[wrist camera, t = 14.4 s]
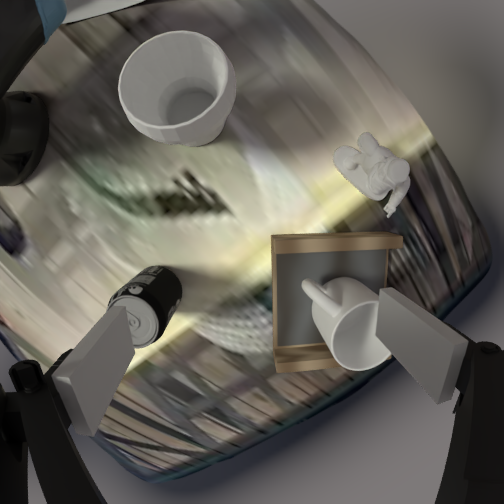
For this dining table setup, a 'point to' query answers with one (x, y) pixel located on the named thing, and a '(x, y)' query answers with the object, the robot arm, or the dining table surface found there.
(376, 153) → the figurine
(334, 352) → the mug
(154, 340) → the beverage can
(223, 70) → the cup
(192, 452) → the dining table surface
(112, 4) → the bowl
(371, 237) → the wooden tray
